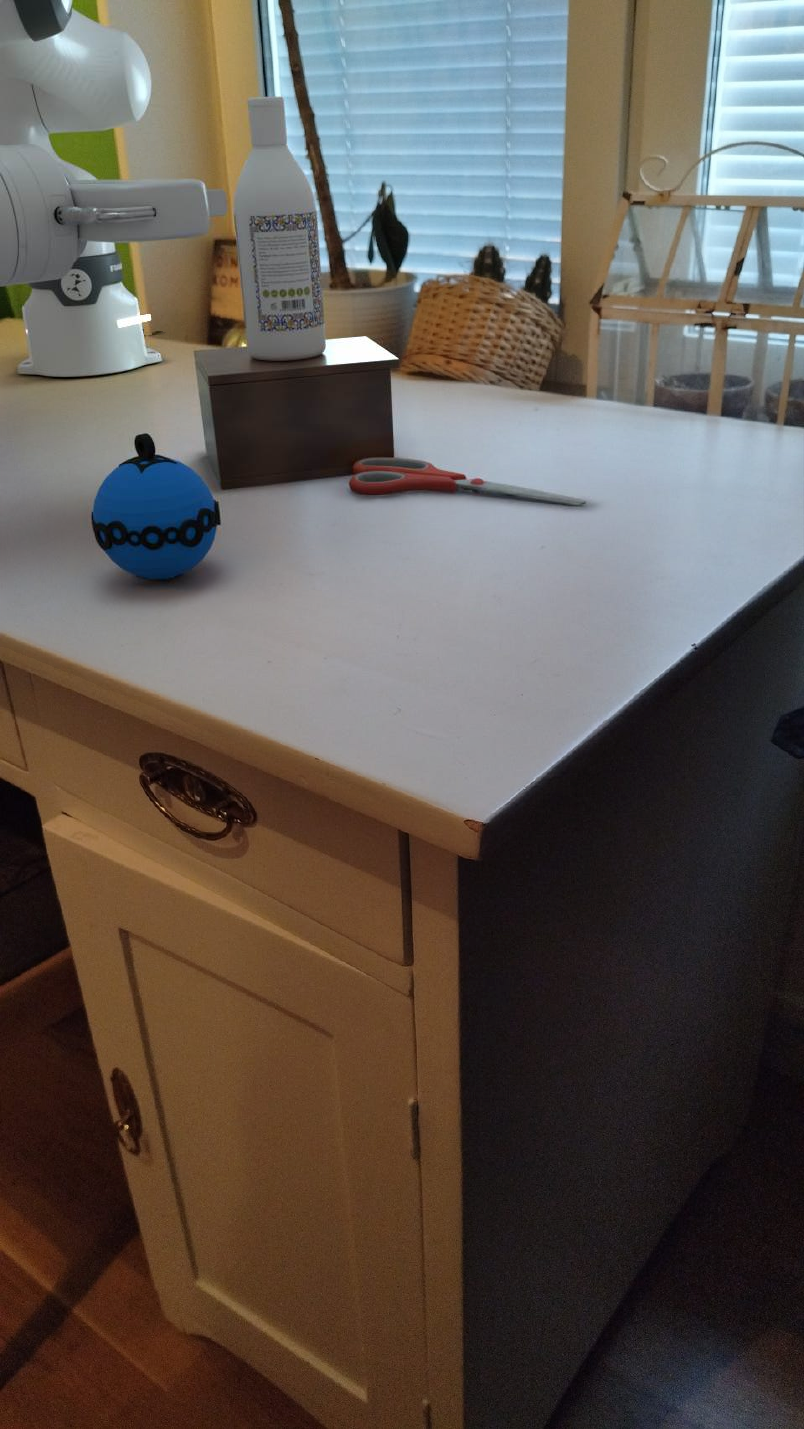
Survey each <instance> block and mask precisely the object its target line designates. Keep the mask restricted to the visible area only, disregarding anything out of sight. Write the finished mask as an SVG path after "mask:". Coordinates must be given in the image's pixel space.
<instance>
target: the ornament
mask: <svg viewBox="0 0 804 1429" xmlns="http://www.w3.org/2000/svg"><path fill="white" fill-rule="evenodd" d="M133 442H134V443H133V444H134V450H135V452H136V453H137V455H136V456H134V457H131V458H129V459H126V460H124V461H123V462H121V463H119V464H118V466H117V467H115V468H114V469H113V470H112V471H111V472H110V473H109V474H108V475H107V476H106V477H105V478H104V480H103V482H102V483H101V484H100V486H99V487H98V490H97V493H96V495H95V498H94V500H93V508H92V511H91V514H90V515H91V516H90V517H91V526H92V531H93V535H94V538H95V541H96V543H97V545H98V546H99V548H101V549H102V550H103V552H104V553H105V555H107V556H108V558H109V559H110V560H111V561H112V562H113V563H114V564H115V565H117V566H118V567H119V569H122V570H123V571H125V572H127V573H129V574H131V575H133V576H135V577H137V578H141V579H145V580H156V581H165V580H170V579H173V578H179V577H182V576H183V575H184V574H186V573H187V572H189V571H192V570H193V569H194V568H195V567H196V566H198V564H200V563H201V562H202V561H203V560H204V559H205V557H206V556H207V554H208V553H209V552H210V550H211V548H212V546H213V543H214V542H215V539H216V532H217V529H218V526H221V525H222V520H221V512H220V511H221V510H220V504H219V501H217V500H216V499H214V496H213V494H212V492H211V490H210V488H209V486H208V485H207V483H206V482H205V480H203V478H202V476H200V475H199V474H198V473H197V472H195V470H194V469H192V468H191V467H190V466H188V465H186V464H185V463H183V462H182V461H179V460H176V459H173V458H170V457H167V456H165V455H160V454H157V453H156V445H155V442H154V439H153V438H152V436H151V435H150V434H149V433H146V432H144V433H139V434H136V435H135V437H134V441H133Z"/></svg>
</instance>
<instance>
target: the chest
mask: <svg viewBox="0 0 804 1429" xmlns="http://www.w3.org/2000/svg"><path fill="white" fill-rule="evenodd" d="M194 365H195V373H196V374H195V375H196V381H197V390H198V396H199V407H200V413H201V421H202V430H203V436H204V438H203V439H204V444H205V453H206V454H205V455H206V456H207V458H208V461H209V463H210V466H211V468H212V471H213V473H214V475H215V478H216V480H217V482H218V485H219V487H220V489H221V491H223V490H231V489H240V488H248V487H256V486H257V487H258V486H267V485H275V484H282V483H283V484H284V483H292V482H293V483H294V482H300V481H311V480H320V479H327V478H328V479H329V478H336V477H344V476H354V475H355V474H354V472H353V466H354V464H355V463H356V462H357V461H359V460H361V459H365V458H372V457H393V458H395V439H394V438H395V437H394V417H393V393H392V372H391V370H392V369H386V370H375V371H364V372H353V373H342V374H331V375H319V376H308V377H297V378H286V379H275V380H264V381H253V382H242V383H231V384H220V385H208V383H207V381H206V379H205V377H204V375H203V374H202V372H201V370H200V368H199V366H198V364H197V363H196V361H195V360H194Z"/></svg>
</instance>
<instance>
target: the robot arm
mask: <svg viewBox="0 0 804 1429" xmlns="http://www.w3.org/2000/svg"><path fill="white" fill-rule="evenodd" d="M151 95H152V76H151V71H150V66H149V64H148V61H147V58H146V56H145V54H144V51H142V48H141V47H140V46H139V45H138V42H136V40H134V39H133V37H132V36H131V35H130V34H129V33H127V32H125V31H123V30H119V29H115V28H112V27H109V26H107V25H104V24H102V23H99V22H97V21H95V20H93V19H92V18H89V17H87V16H85V15H84V14H83V13H80V12H79V11H77V10H76V9H75V8H73V0H0V288H1V287H9V286H16V285H24V284H28V286H29V287H30V288H31V293H30V295H29V297H28V299H27V300H26V301H25V302H24V305H22V307H21V312H22V320H23V321H22V322H23V324H24V329H25V337H26V343H27V348H28V354H29V357H27V358H25V359H24V360H23V361H22V362H20V363H19V364H18V365H17V374H20V375H39V376H44V377H54V378H55V377H57V378H58V377H60V378H62V377H63V378H67V377H68V378H71V377H72V378H73V377H74V378H75V377H90V376H99V375H100V376H101V375H108V374H113V373H114V374H115V373H120V372H124V371H129V370H133V369H136V368H140V367H142V366H145V365H150V364H154V363H155V364H156V363H159V362H162V361H163V358H162V355H161V353H160V352H159V351H157V350H155V349H153V348H151V347H149V348H146V346H147V345H146V341H145V334H144V329H143V328H144V327H143V323H145V322H149V321H151V320H152V317H151V314H150V313H148V314H144V315H141V311H140V305H139V300H138V298H137V297H136V296H135V295H134V294H133V293H131V292H130V291H129V290H128V289H127V288H126V287H125V286H124V284H123V280H124V274H123V263H122V261H121V256H120V252H118V250H116V244H119V243H120V244H127V243H128V244H130V243H145V242H156V241H157V242H158V241H168V240H169V241H170V240H176V239H177V240H180V239H190V238H197V237H202V236H204V235H206V234H208V233H209V232H210V229H211V222H210V221H211V219H210V218H213V217H222V216H225V215H226V214H227V212H228V203H227V202H228V201H227V194H226V192H225V191H224V190H223V189H222V188H217V189H215V188H214V189H207V187H206V185H205V183H204V182H203V181H202V180H200V179H196V178H143V179H140V178H139V179H138V178H137V179H136V178H135V179H131V178H130V179H98V178H97V177H96V176H94V175H93V174H92V173H90V172H89V171H87V170H85V169H83V168H81V167H79V166H78V165H75V164H73V163H71V162H69V161H66V160H64V159H62V158H60V156H58V154H57V153H56V151H55V149H54V148H53V146H52V143H51V141H50V140H51V139H50V137H49V135H52V134H63V133H66V134H67V133H86V132H88V133H89V132H103V131H108V130H112V129H116V128H120V127H123V126H127V125H130V124H134V123H137V122H139V121H140V120H141V119H142V117H143V116H144V114H145V113H146V111H147V109H148V105H149V103H150V100H151ZM115 243H116V244H115ZM145 345H146V346H145ZM150 352H153V353H150ZM158 355H159V356H158Z"/></svg>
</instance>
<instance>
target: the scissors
mask: <svg viewBox="0 0 804 1429" xmlns="http://www.w3.org/2000/svg"><path fill="white" fill-rule="evenodd" d="M353 472H354V474H355V475H351V477H350V479H349V481H348V485H349V489H350V491H352V492H353V493H354V494H356V495H360V496H366V497H368V496H371V497H372V496H374V497H375V496H387V495H394V494H399V493H406V492H414V491H417V492H418V491H421V492H422V491H423V492H438V493H455V492H456V491H457V488H460V489H462V490H464V491H469V492H472V493H476V494H479V493H481V494H488V495H495V496H501V497H502V496H503V497H512V498H517V499H524V500H531V501H539V502H547V503H552V504H558V505H559V504H560V505H568V506H583V505H586V504H587V501H586V500H584V499H579V498H575V497H573V496H567V495H564V494H563V495H562V494H558V493H553V492H548V491H543V490H540V489H539V490H538V489H533V488H528V487H524V486H523V487H522V486H517V485H512V484H506V483H499V482H493V481H487V480H483V479H482V478H479V477H475V478H467V476H466V475H465V474H464V473H461V472H455V471H449V470H443V469H441V468H437V467H436V466H435V465H434V464H432V463H430V462H428V461H424V460H421V459H420V460H419V459H413V458H404V457H394V458H393V457H372V458H365V459H361V460H359V461H357V462H356V463H355V464H354V466H353Z"/></svg>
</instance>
